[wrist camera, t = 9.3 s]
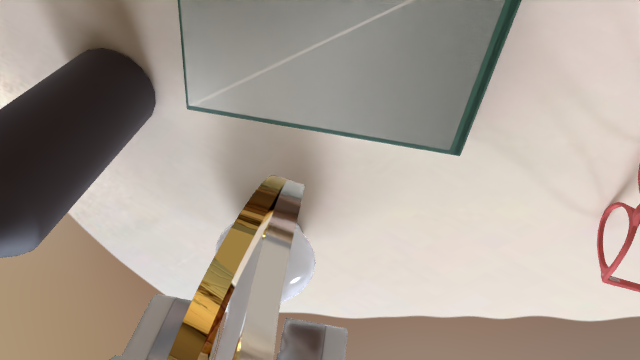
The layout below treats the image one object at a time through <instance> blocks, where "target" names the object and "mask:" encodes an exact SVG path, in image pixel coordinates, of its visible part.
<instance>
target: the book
mask: <svg viewBox="0 0 640 360" xmlns="http://www.w3.org/2000/svg"><path fill="white" fill-rule="evenodd" d="M520 2H521V0H178V8H179V20H180V32H181V44H182V56H183V67H184V79H185V91H186V103H187V109H189V110H195V111H201V112H206V113H212V114H218V115H224V116H230V117H235V118H241V119H247V120H253V121H259V122H265V123H270V124H276V125H282V126H288V127H294V128H299V129H305V130H311V131H317V132H323V133H329V134H334V135H340V136H346V137H352V138H358V139H363V140H369V141H375V142H381V143H387V144H392V145H398V146H404V147H410V148H416V149H422V150H427V151H433V152H439V153H445V154H451V155H456V156H460V155H461V152H462V150H463V147H464V145H465V142H466V140H467V137H468V134H469V132H470V129H471V127H472V124H473V122H474V119H475V117H476V114H477V112H478V109H479V107H480V104H481V101H482V99H483V96H484V94H485V91H486V89H487V86H488V84H489V81H490V79H491V76H492V74H493V71H494V68H495V66H496V63H497V61H498V58H499V56H500V53H501V51H502V48H503V46H504V43H505V41H506V38H507V35H508V33H509V30H510V28H511V25H512V23H513V20H514V18H515V15H516V13H517V10H518V8H519V5H520Z"/></svg>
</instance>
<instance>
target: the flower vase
mask: <svg viewBox="0 0 640 360" xmlns="http://www.w3.org/2000/svg"><path fill="white" fill-rule="evenodd" d="M233 224H234V223H233ZM233 224H231V225H230V226H229V227H228V228H227V229H225V230H224V231H223V232H222V234H221V236H220V238H219V240H218V242H217V244H216V253H217V251H218V250H219V248H220V246H221V244H222V242H223V241H224V239H225V237H226V236H227V234H228V232H229V231H230V229H231V227H232V226H233ZM263 233H264V232H263ZM262 237H263V234H262V236H261V237H260V239H259V241H258V243H257V245H256V246H255V248H254V250H253V252H252V254H251V256H250V258H249V260H248V262H247V264H246V266H245V268H244V270H243V272H242V274H241V276H240V278H239V280H238V282H237V284H236V286H235V289H234V291H233V293H232V295H231V298H230V300H229V305H228V312H227V316H226V321H225V324H224V328H223V332H222V335H221V338H220V342H219V345H218V348H217V351H216V355H215V358H214V360H232V359H233V356H234V352H235V349H236V346H237V342H238V339H239V335H240V332H241V328H242V325H243V321H244V318H245V314H246V311H247V306H248V301H249V296H250V291H251V287H252V283H253V279H254V275H255V271H256V267H257V263H258V260H259V256H260V252H261V249H262V245H263V242H264V240H262ZM215 255H216V254H215ZM315 264H316V262H315V254H314V251H313V248H312V246H311V244H310V242H309V241H308V239H307V238H306V237H305V236H304V235H303V233H302V231H301V229H300V227H299V226H298V224H297V223H296V227H295V231H294V236H293V240H292V245H291V249H290V254H289V259H288V264H287V269H286V274H285V279H284V284H283V290H282V296H281V302H280V303H282V302H284V301H286V300H289V299H291V298H292V297H294V296H295V295H297V294H298V293H300V292H301V291H302V290H303V289H304V288H305V287H306V285H307V284H308V283H309V281H310V280H311V278H312V276H313V272H314V269H315Z"/></svg>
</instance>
